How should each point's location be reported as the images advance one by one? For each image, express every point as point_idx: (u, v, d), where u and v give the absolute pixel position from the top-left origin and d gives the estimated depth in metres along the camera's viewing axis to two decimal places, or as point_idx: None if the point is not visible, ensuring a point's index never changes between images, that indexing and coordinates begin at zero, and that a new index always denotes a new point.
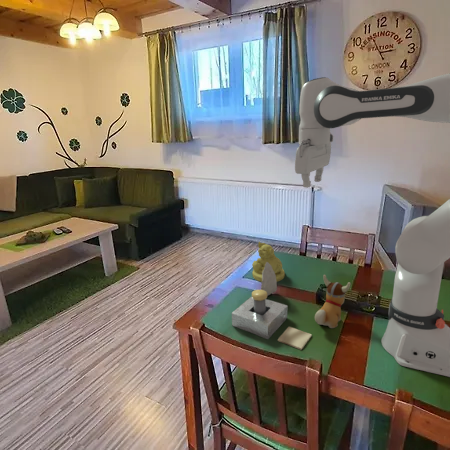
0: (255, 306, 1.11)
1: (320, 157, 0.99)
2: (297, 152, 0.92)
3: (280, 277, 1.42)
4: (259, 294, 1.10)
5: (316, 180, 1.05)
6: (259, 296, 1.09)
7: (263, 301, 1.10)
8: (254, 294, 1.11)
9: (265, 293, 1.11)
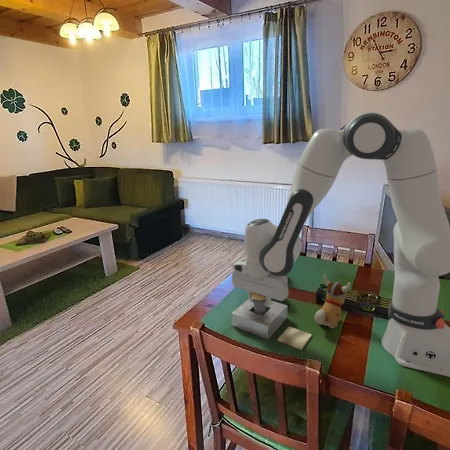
0: (255, 306, 1.11)
1: None
2: (282, 284, 1.03)
3: None
4: (259, 294, 1.10)
5: None
6: (259, 296, 1.09)
7: (263, 301, 1.10)
8: (254, 294, 1.11)
9: None
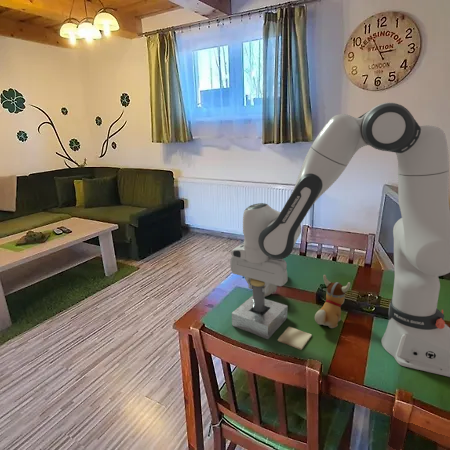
0: (254, 292, 1.10)
1: None
2: (281, 269, 1.01)
3: None
4: (258, 280, 1.09)
5: None
6: (257, 282, 1.08)
7: (262, 287, 1.09)
8: (253, 280, 1.09)
9: None
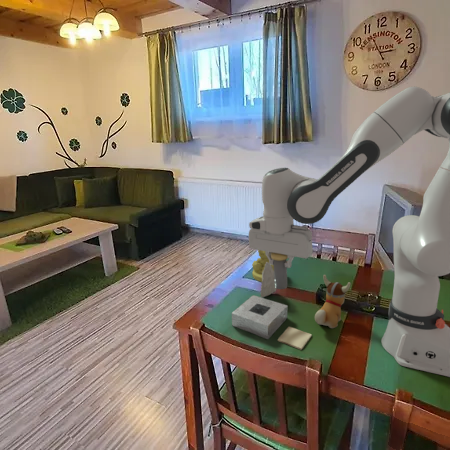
0: (275, 268, 1.01)
1: None
2: (306, 238, 0.92)
3: None
4: (280, 254, 1.00)
5: None
6: (279, 255, 0.99)
7: (284, 261, 1.00)
8: (274, 254, 1.00)
9: None
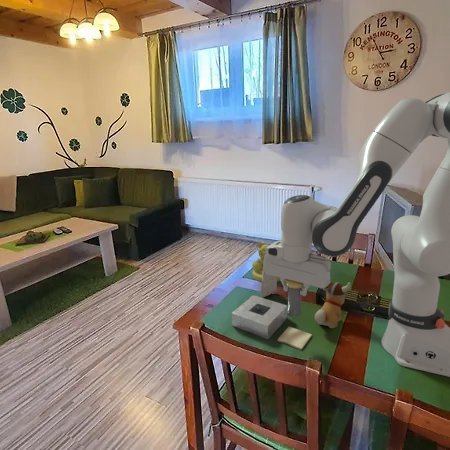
0: (290, 295, 0.99)
1: None
2: (325, 269, 0.90)
3: None
4: (295, 282, 0.98)
5: None
6: (295, 283, 0.97)
7: (300, 289, 0.98)
8: (289, 281, 0.98)
9: None
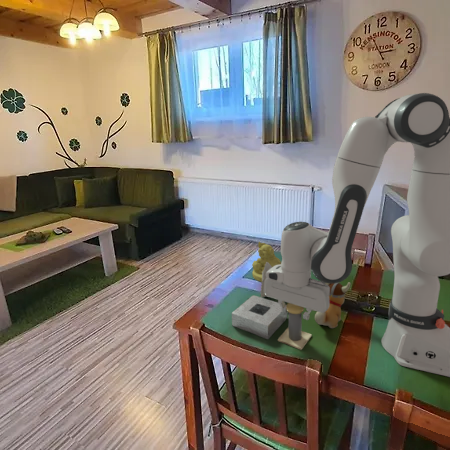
0: (290, 320, 1.01)
1: None
2: (324, 294, 0.93)
3: None
4: (295, 307, 1.00)
5: (286, 311, 1.04)
6: (295, 309, 1.00)
7: (299, 314, 1.00)
8: (289, 307, 1.01)
9: None
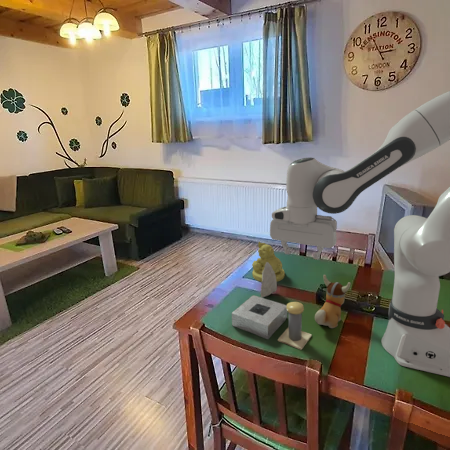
0: (290, 320, 1.01)
1: None
2: (331, 228, 0.92)
3: (280, 277, 1.42)
4: (295, 307, 1.00)
5: (289, 253, 1.04)
6: (295, 309, 1.00)
7: (299, 315, 1.00)
8: (289, 307, 1.01)
9: (301, 306, 1.01)
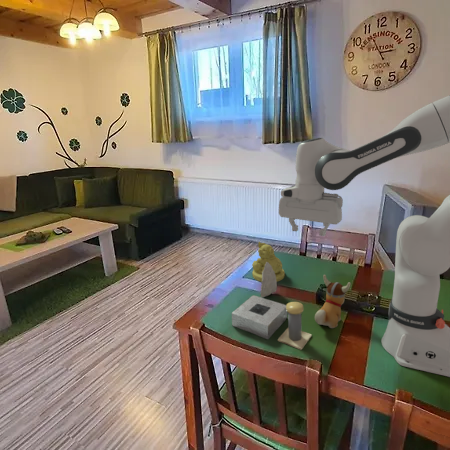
0: (290, 320, 1.01)
1: None
2: (337, 205, 0.98)
3: (280, 277, 1.42)
4: (295, 307, 1.00)
5: (296, 230, 1.09)
6: (294, 309, 1.00)
7: (299, 315, 1.00)
8: (289, 307, 1.01)
9: (301, 306, 1.01)
